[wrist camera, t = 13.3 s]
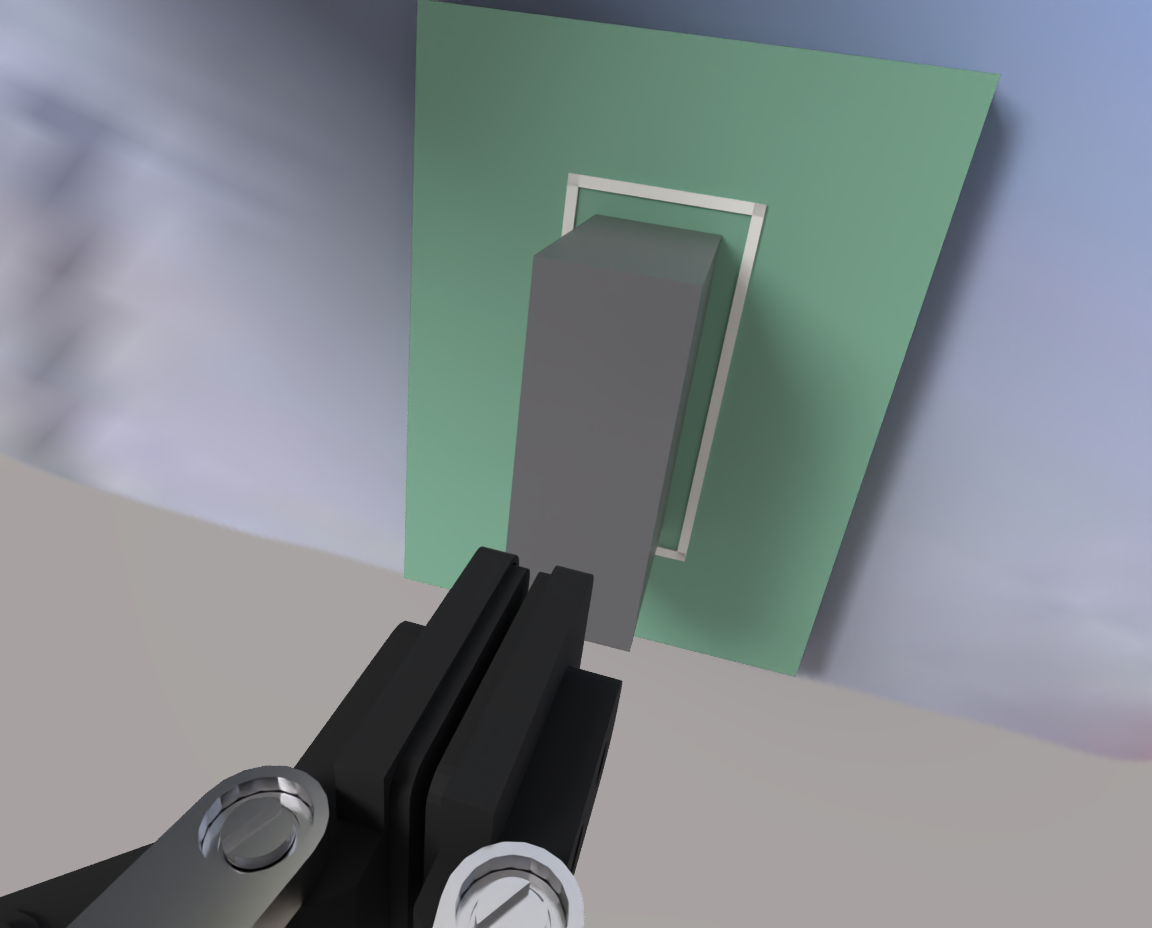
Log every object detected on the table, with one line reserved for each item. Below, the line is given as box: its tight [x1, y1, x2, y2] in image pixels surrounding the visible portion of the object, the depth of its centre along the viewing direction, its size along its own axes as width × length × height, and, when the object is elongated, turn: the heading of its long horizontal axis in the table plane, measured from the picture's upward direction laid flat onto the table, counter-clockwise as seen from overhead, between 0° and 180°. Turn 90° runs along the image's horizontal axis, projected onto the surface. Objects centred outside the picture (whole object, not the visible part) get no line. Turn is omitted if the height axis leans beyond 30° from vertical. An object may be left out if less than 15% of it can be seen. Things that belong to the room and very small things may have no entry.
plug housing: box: [506, 214, 722, 652], centre depth 20 cm, size 3×9×6 cm, turn 172°
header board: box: [404, 0, 1001, 677], centre depth 22 cm, size 14×18×5 cm
